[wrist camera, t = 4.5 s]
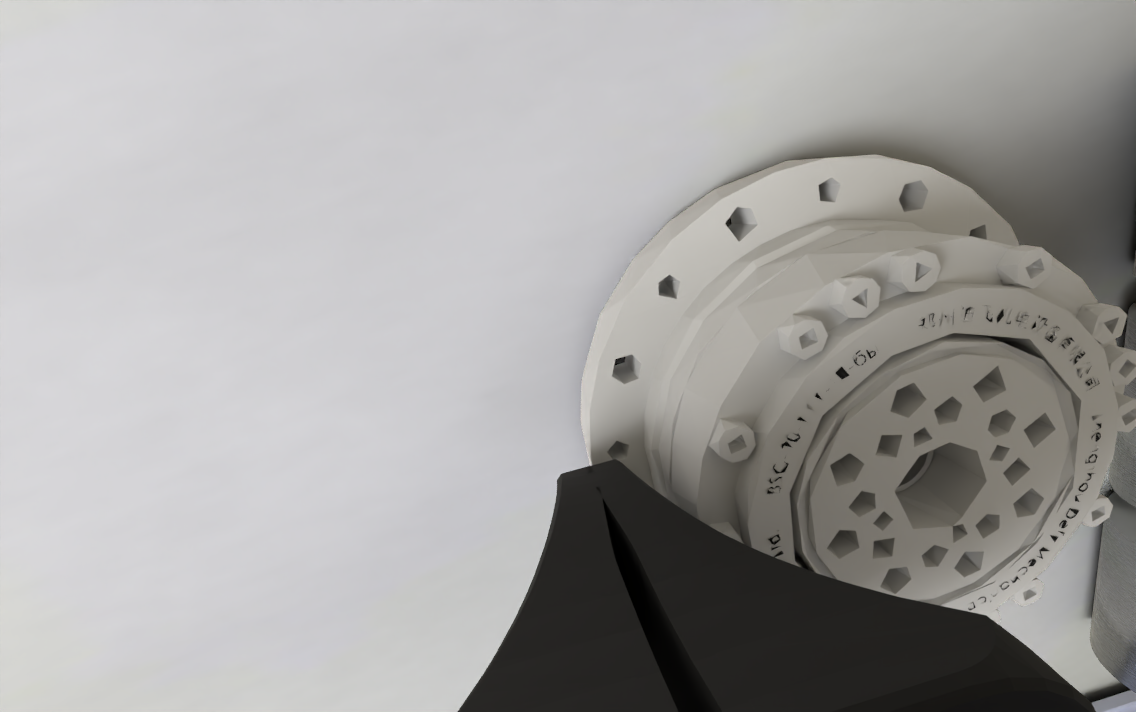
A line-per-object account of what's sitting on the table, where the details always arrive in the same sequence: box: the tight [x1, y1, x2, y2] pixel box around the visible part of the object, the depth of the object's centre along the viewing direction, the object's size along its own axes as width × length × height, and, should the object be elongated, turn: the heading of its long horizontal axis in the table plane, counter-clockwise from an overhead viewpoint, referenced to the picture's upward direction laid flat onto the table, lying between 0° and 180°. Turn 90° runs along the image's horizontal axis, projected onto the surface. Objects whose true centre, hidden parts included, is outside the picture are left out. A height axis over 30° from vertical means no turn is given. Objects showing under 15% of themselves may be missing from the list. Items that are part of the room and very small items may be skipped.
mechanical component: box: [580, 154, 1136, 625], centre depth 10 cm, size 10×4×10 cm
